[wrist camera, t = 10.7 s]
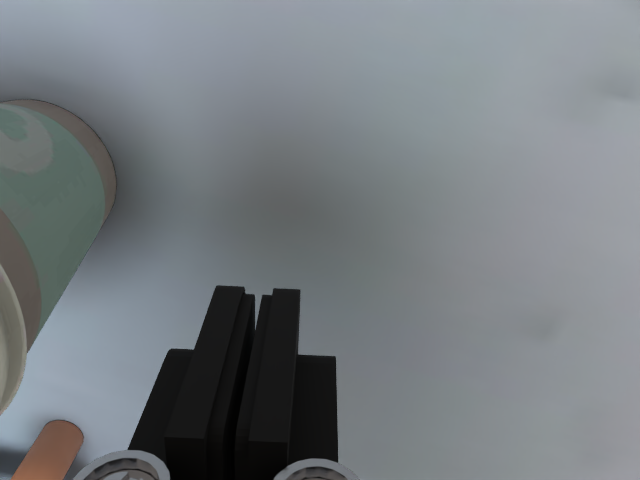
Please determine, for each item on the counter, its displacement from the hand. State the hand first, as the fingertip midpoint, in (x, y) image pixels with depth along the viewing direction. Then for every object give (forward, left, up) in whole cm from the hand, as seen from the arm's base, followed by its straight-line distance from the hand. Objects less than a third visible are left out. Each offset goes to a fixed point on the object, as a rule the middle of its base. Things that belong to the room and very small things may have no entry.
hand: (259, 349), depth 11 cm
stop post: (-14, +11, -12) cm, 21 cm away
